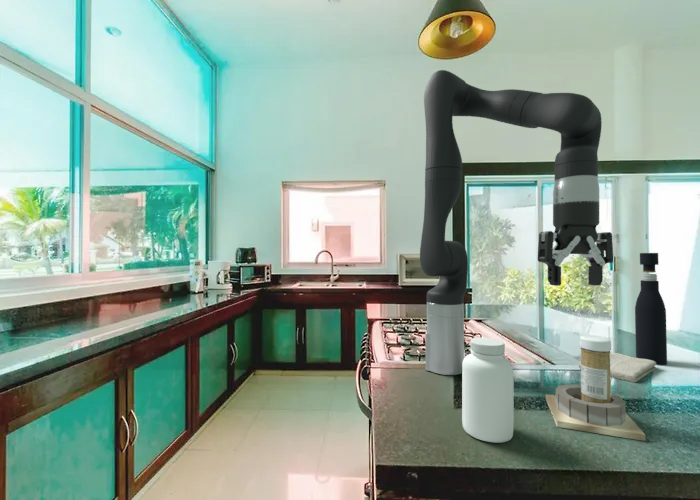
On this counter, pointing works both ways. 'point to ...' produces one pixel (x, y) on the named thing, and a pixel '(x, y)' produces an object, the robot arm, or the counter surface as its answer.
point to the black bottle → (650, 315)
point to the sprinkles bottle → (595, 369)
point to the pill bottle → (488, 391)
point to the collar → (592, 414)
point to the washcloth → (629, 367)
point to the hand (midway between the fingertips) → (575, 285)
